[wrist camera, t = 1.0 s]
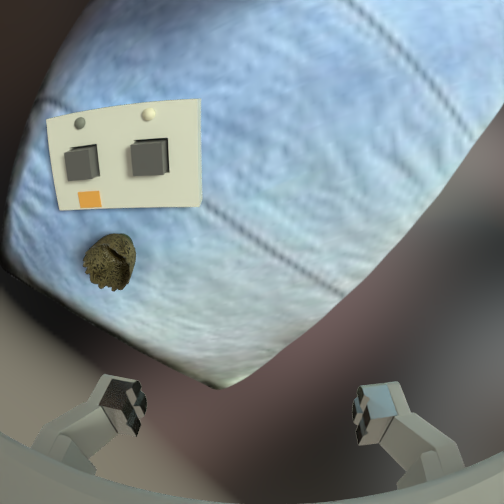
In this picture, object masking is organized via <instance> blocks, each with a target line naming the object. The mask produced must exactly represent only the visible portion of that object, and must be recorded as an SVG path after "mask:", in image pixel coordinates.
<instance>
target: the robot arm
mask: <svg viewBox="0 0 504 504" xmlns="http://www.w3.org/2000/svg"><path fill="white" fill-rule="evenodd" d="M141 387H142V386H141V384H140V382H139V381H137V380H131V379H125V378H121V377H116V376H111V375H106V374H104V375H103V376H102V377H101V378H100V380H99V382H98V383H97V385H96V387H95V389H94V391H93V392H92V394H91V396H90V398H89V400H88V401H87V403H86V402H83V403H82V404H80V405H78V406H77V407H75V408H73V409H71V410H70V411H68V412H66V413H65V414H63V415H61V416H59V417H58V418H56V419H54V420H53V421H51V422H49V423H47V424H46V425H44V426H43V427H42V429H41V430H40V432H39V434H38V436H37V437H36V439H35V441H34V443H33V445H32V446H31V448H29V447H27V446H25V445H23V444H21V443H20V442H18V441H16V440H14V439H12V438H10V437H9V436H7V435H5V434H4V433H2V432H0V504H232V503H220V502H210V501H202V500H195V499H188V498H182V497H176V496H170V495H166V494H161V493H155V492H151V491H147V490H143V489H138V488H135V487H131V486H127V485H124V484H120V483H117V482H113V481H110V480H107V479H104V478H101V477H98V476H95V473H96V467H95V466H94V465H93V464H92V463H91V462H90V461H89V458H90V457H91V456H93V455H94V454H95V453H96V452H98V451H99V450H100V449H101V448H102V447H104V446H105V445H106V444H107V443H108V442H110V441H111V440H112V439H113V438H114V437H115V436H117V433H119V434H124V435H128V436H133V437H137V435H138V432H139V429H140V427H141V422H140V420H139V419H140V418H142V417H143V416H144V415H145V413H146V409H147V399H146V396H145V394H144V393H143V392H141ZM357 395H358V397H357V398H356V399H355V400H354V402H353V407H352V408H353V409H352V417H353V422H354V423H355V424H356V425H357V426H358V427H357V429H356V436H357V440H358V445H366V444H375V443H380V445H381V446H382V447H383V448H384V449H385V450H386V451H387V452H388V453H389V454H390V455H391V456H392V457H393V459H394V460H395V461H397V463H398V464H399V465H400V466H401V467H402V468H403V469H404V470H405V471H406V473H405V474H404V475H403V477H402V478H401V479H400V480H399V481H398V482H397V488H398V490H395V491H391V492H386V493H382V494H377V495H372V496H366V497H360V498H354V499H347V500H341V501H332V502H322V503H310V504H504V451H502V452H500V453H498V454H496V455H494V456H492V457H490V458H488V459H486V460H484V461H481V462H479V463H477V464H474V465H472V466H470V467H467V468H465V465H464V463H463V460H462V457H461V455H460V452H459V450H458V447H457V445H456V442H454V441H453V440H451V439H450V438H449V437H447V436H446V435H445V434H443V433H442V432H440V431H439V430H438V429H436V428H435V427H433V426H432V425H431V424H429V423H428V422H426V421H425V420H424V419H422V418H421V417H420V416H418V415H417V414H416V413H411V412H410V409H409V407H408V404H407V401H406V399H405V396H404V394H403V391H402V389H401V386H400V384H399V383H398V382H389V383H380V384H372V385H364V386H360V387H359V388H358V390H357Z"/></svg>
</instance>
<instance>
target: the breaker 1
mask: <svg viewBox="0 0 504 504" xmlns="http://www.w3.org/2000/svg"><path fill="white" fill-rule="evenodd" d="M64 158H65V165H66V172H67V179H68V181H76V180H88V179H93V178H94V177H96V176H97V175H99V174H100V169H99V161H98V151H97V145H90V146H83V147H76V148H73V149H71V150H69V151H67V152H65V153H64Z"/></svg>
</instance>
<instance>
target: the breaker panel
mask: <svg viewBox="0 0 504 504" xmlns="http://www.w3.org/2000/svg"><path fill="white" fill-rule="evenodd" d="M46 122H47V133H48V143H49V151H50V159H51V166H52V172H53V178H54V184H55V190H56V195H57V200H58V205H59V210H79V209H104V208H140V207H200V204H201V201H202V168H201V99H180V100H165V101H153V102H143V103H134V104H126V105H118V106H111V107H105V108H98V109H92V110H87V111H81V112H76V113H71V114H66V115H62V116H57V117H54V118H50V119H46ZM154 138H168V150H169V169H168V171H167V172H166V173H165V174H164V175H152V176H133V172H132V160H131V148H130V145H131V144H133V143H135V142H137V141H139V140H141V139H154ZM92 144H97V151H98V161H99V169H100V174H99V175H97V176H96V177H94V178H93V179H88V180H76V181H68V179H67V172H66V165H65V158H64V153H65V152H67V151H69V150H71V149H73V148H76V147H80V146H84V145H92Z"/></svg>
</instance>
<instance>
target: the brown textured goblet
mask: <svg viewBox="0 0 504 504" xmlns="http://www.w3.org/2000/svg"><path fill="white" fill-rule="evenodd" d="M85 254H86V255H85V257H84V259H83V261H84V263H83V267H87V269H86V271H85V273H86V274H88V273H89V275H90V281H91V283H93V284H98V287H99V288H100V289H103V287H104V286H108V288H109V287H112V291H116V290H117V289H118V290H122V289H123V288H124V287H125V286H126V284H128V283H129V280H130V278H131V274H132V271H133V268H134V265H135V260H136V252H135V248H134V245H133V242H132V240H131V238H130V237H129V236H128V235H126V234H122V233H121V234H115V233H114V234H109V235H106V236H104V237H103V238H101V239H100V240H99V241H98V242H96V243H95V244H94V245H93V246H92V247H91V248H90V249H89V250H88V251H87V252H86V253H85Z"/></svg>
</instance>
